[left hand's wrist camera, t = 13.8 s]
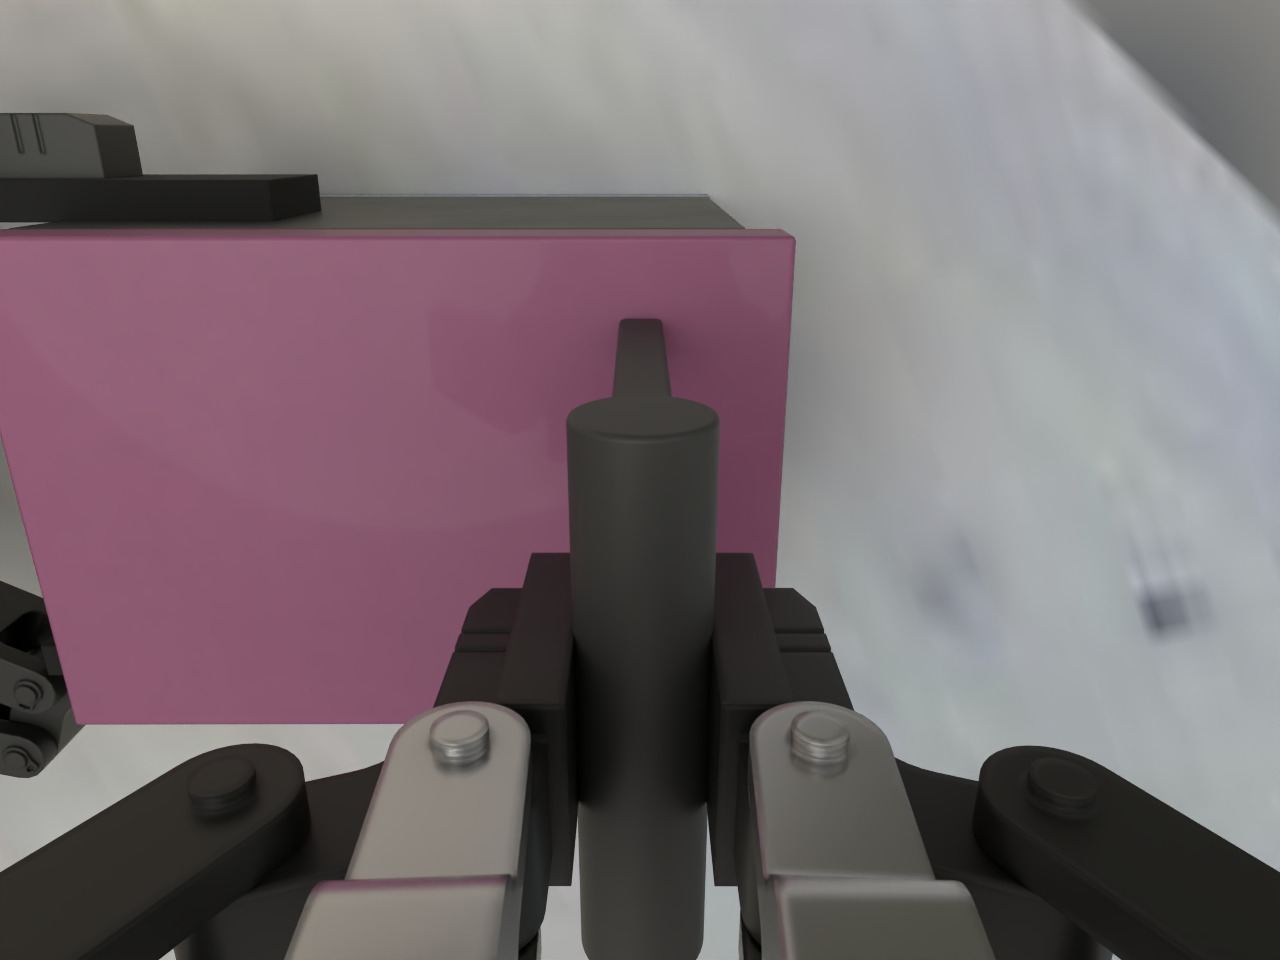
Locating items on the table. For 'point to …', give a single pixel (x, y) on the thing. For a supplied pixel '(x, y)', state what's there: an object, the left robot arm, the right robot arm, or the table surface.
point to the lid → (406, 486)
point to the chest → (472, 213)
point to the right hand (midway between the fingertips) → (326, 432)
